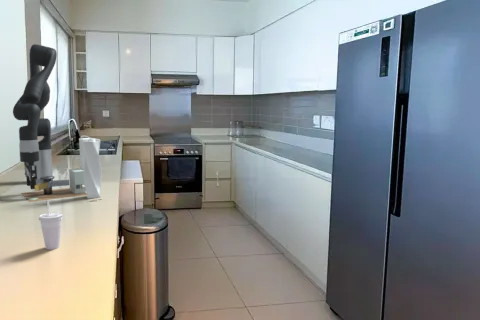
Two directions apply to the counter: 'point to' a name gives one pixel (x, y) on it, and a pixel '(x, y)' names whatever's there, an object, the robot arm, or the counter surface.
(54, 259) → the counter surface
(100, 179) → the skyscraper
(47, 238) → the smoothie
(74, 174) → the stand
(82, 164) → the cylindrical container
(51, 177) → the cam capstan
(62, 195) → the walnut board
